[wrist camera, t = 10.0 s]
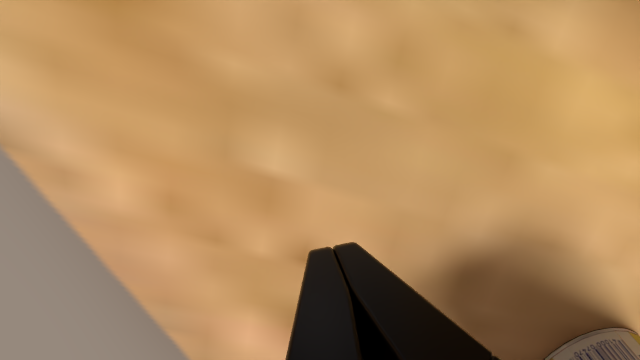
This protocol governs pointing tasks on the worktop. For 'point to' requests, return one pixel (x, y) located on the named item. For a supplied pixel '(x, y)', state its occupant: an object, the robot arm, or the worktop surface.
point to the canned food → (601, 346)
